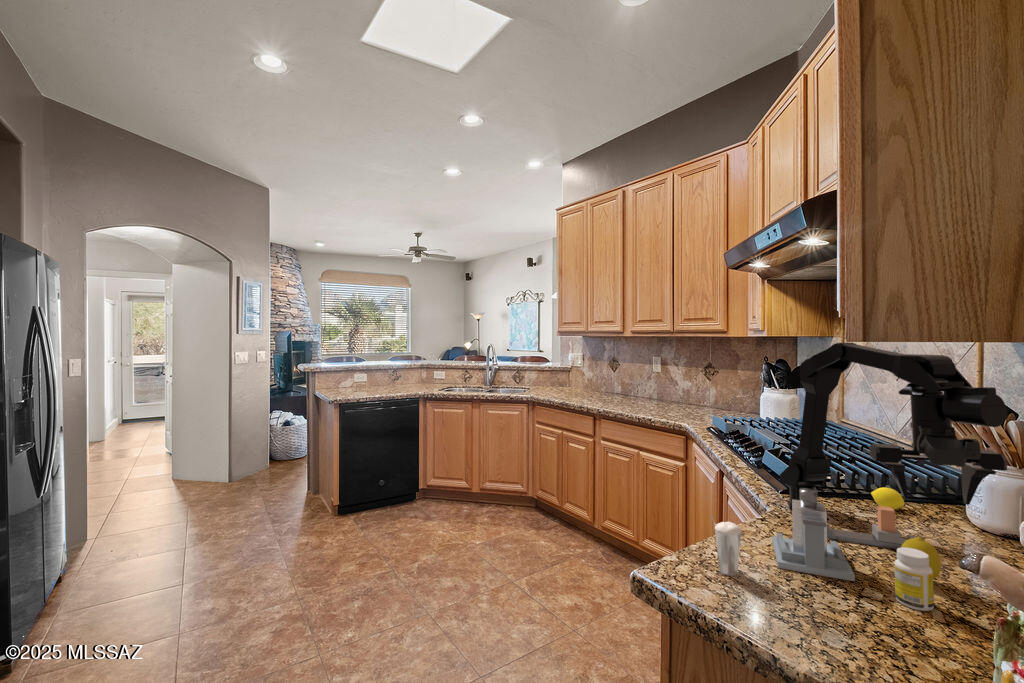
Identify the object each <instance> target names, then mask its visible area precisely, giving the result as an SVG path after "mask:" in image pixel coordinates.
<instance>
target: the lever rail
mask: <svg viewBox="0 0 1024 683" xmlns="http://www.w3.org/2000/svg"><path fill="white" fill-rule="evenodd" d="M912 538H916V536H914V535H913V534H907V537H906V538H902V544H903V543H904V542H905V541H906V540H908V539H912ZM827 540H830V541H839V542H846V543H852V544H860V545H868V546H873V547H881V548H887V549H888V548H889V549H893V550H897V549H898V548H900V547H901V546H902V544H896V543H889V542H882V541H878V540H877V539H876V538H875V536H874V535H873V534H872V533H865V532H857V531H850V530H842V529H837V528H836V529H835V528H831V526H830V524H829V523H827Z"/></svg>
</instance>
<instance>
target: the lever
mask: <svg viewBox="0 0 1024 683" xmlns="http://www.w3.org/2000/svg"><path fill="white" fill-rule="evenodd" d="M876 507H877V524H874V523H871V534H873V535H874V536H875V538H876V539H877V540H878V541H882V542H889V543H896V544H902V539H903V534H902V533H901V532H900V531H899V530H898V529H897V527H896V511H895V510H893V509H892V508H890V507H882V506H880V505H877V506H876Z"/></svg>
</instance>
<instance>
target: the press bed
mask: <svg viewBox="0 0 1024 683" xmlns="http://www.w3.org/2000/svg"><path fill="white" fill-rule="evenodd" d="M801 520H802V522H803V530H804V553H798V552H793V538H788V537H784V536H783V533H782V532H776V536H775V535H772V536H771V543H772V547H773V551H774V552H773V553H774V557H775V560H776V565H777V569H780V570H781V569H783V570H787V571H788V570H789V571H794V572H800V573H805V574H810V575H817V576H822V577H827V578H833V579H838V580H839V579H840V580H844V581H852V582H855V581H856V577H855V576H856V575H855V572H854V571H853V569H852V567H851V565H850V563H849V562H848V560H847V558H846V557H845V555H844V553H843V551H842V549H841V548H840V545H839V544H838V542H837V540H829V542H830V544H828V543H827V557H825V549H824V527H826V521H825V520H824V518H821V517H813V516H806V515H801Z"/></svg>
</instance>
